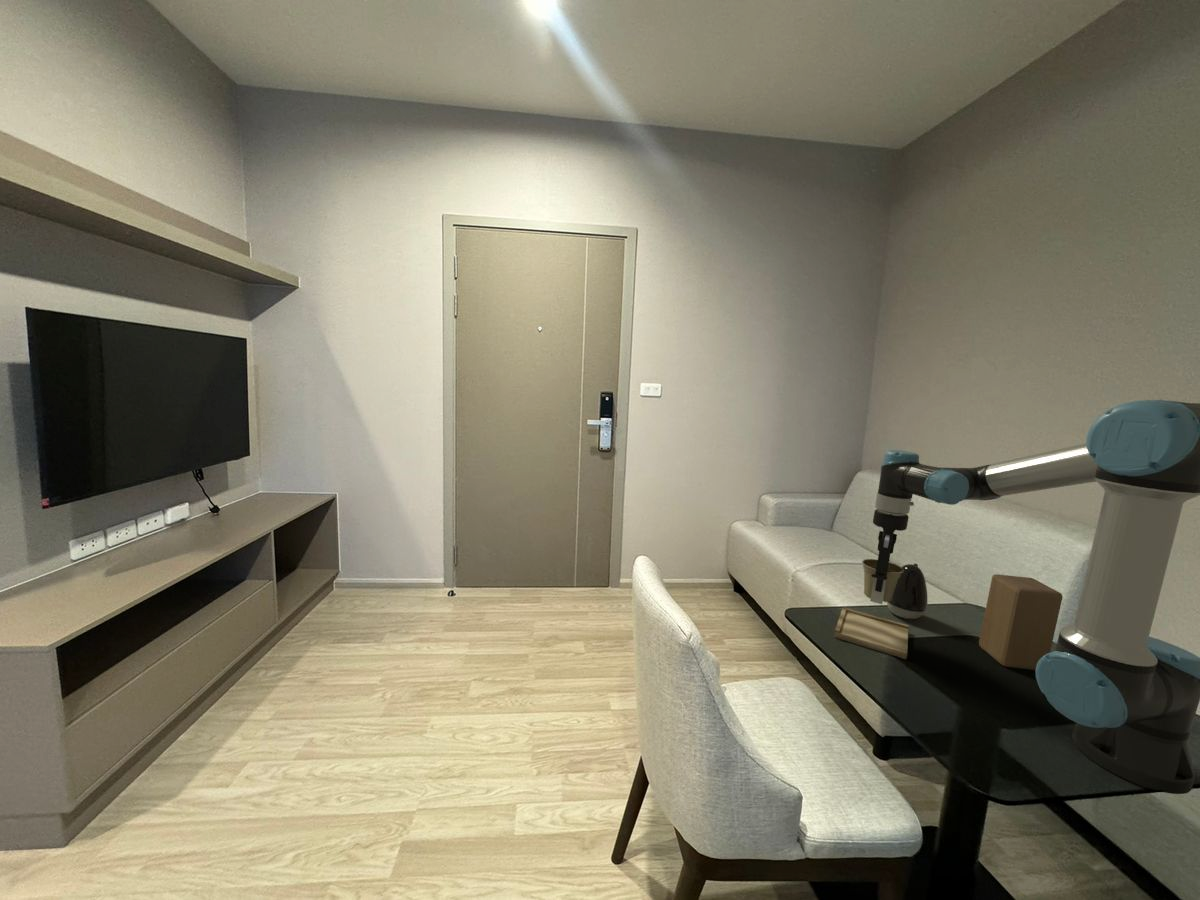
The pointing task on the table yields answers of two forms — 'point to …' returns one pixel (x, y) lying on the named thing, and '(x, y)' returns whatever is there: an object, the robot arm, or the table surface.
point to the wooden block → (1019, 621)
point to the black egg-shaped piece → (909, 594)
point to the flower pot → (870, 569)
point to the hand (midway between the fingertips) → (877, 596)
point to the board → (873, 632)
